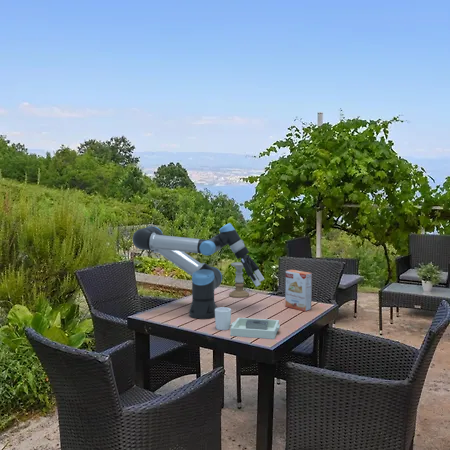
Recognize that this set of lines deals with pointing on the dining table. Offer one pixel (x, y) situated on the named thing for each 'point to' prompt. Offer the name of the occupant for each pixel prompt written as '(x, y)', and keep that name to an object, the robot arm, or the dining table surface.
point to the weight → (257, 325)
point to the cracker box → (298, 290)
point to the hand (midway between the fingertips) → (260, 282)
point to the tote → (241, 331)
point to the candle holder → (239, 282)
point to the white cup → (222, 318)
